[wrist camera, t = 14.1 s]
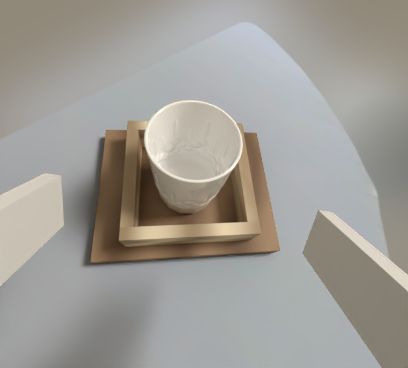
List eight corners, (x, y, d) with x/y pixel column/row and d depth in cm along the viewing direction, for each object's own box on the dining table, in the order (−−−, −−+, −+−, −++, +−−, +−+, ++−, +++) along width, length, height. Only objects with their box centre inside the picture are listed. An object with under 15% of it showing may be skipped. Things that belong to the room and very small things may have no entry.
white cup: (228, 174, 29) (255, 122, 20) (203, 231, 25) (221, 199, 16) (172, 149, 29) (173, 87, 20) (140, 201, 26) (123, 154, 17)
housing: (94, 263, 24) (77, 258, 19) (109, 137, 30) (98, 110, 26) (274, 252, 27) (295, 245, 22) (252, 139, 33) (265, 115, 29)
